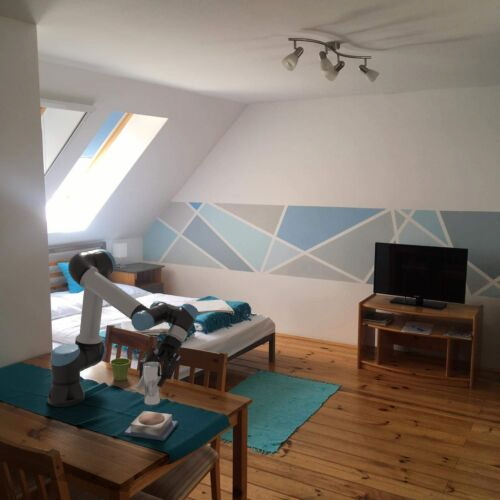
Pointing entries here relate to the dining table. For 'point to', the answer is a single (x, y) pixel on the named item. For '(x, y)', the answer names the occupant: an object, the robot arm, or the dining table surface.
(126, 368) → the plant pot
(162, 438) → the grey flat slab
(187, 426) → the dining table surface
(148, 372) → the silver metal cup
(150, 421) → the plinth
